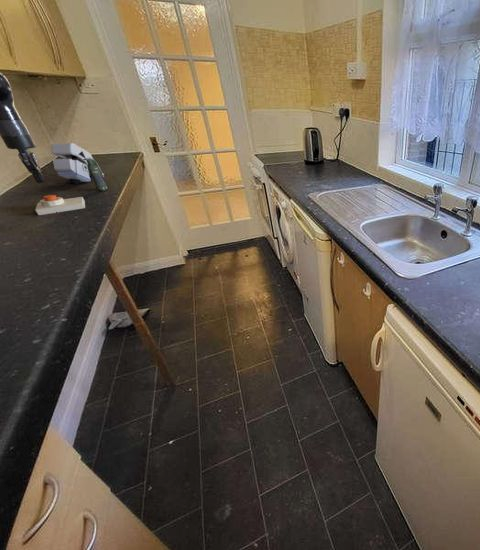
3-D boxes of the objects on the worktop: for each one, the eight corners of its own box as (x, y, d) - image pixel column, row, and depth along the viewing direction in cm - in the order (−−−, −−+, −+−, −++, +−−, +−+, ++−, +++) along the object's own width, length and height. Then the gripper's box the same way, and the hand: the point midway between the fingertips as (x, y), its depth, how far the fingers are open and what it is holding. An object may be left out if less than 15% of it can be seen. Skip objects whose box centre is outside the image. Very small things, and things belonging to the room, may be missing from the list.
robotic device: (105, 192, 166) (103, 157, 167) (73, 177, 145) (71, 138, 146) (84, 193, 164) (83, 158, 165) (49, 178, 143) (47, 138, 144)
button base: (38, 215, 114) (32, 205, 112) (40, 207, 121) (35, 198, 119) (85, 208, 122) (80, 198, 120) (84, 201, 129) (80, 192, 127)
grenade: (102, 192, 142) (87, 159, 134) (95, 191, 142) (80, 158, 135) (111, 189, 145) (97, 157, 138) (104, 189, 146) (89, 156, 138)
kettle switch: (45, 202, 116) (42, 198, 116) (45, 200, 119) (43, 195, 118) (57, 200, 118) (55, 196, 118) (58, 198, 121) (55, 194, 120)
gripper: (3, 132, 108) (29, 180, 117) (-4, 136, 99) (25, 187, 108) (31, 131, 112) (55, 178, 121) (27, 135, 104) (53, 184, 113)
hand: (41, 182), depth 115 cm, fingers closed
